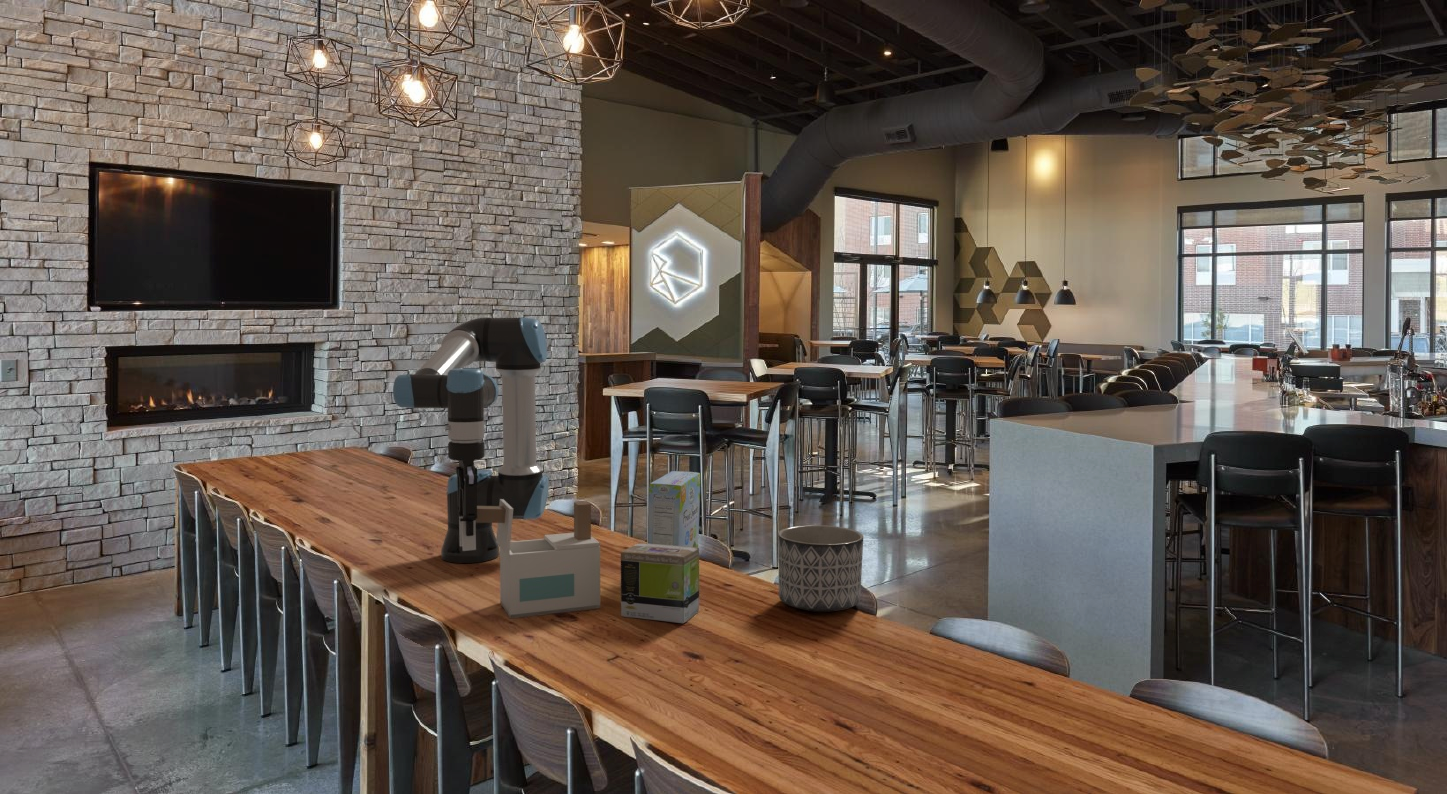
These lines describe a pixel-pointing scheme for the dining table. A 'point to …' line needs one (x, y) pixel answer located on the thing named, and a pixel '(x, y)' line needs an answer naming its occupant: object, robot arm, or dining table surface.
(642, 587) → the tea box
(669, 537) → the snack box
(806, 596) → the planter
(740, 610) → the dining table surface
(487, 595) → the dining table surface
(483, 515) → the flap near
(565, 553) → the carton
